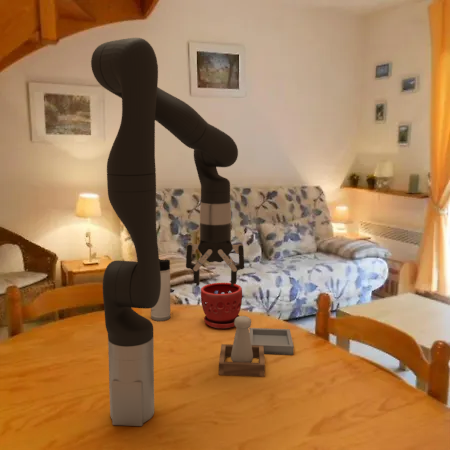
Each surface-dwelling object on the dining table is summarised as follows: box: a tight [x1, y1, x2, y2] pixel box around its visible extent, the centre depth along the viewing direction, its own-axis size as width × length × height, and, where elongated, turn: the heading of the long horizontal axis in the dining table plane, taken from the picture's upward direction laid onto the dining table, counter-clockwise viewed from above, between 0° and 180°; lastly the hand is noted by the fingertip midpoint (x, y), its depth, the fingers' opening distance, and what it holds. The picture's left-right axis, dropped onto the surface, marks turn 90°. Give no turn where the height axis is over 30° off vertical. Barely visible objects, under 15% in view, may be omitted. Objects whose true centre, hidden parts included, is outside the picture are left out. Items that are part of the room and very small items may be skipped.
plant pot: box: [200, 282, 243, 329], centre depth 150 cm, size 13×13×12 cm
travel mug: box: [150, 258, 171, 322], centre depth 153 cm, size 6×7×20 cm
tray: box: [248, 327, 294, 356], centre depth 136 cm, size 12×12×2 cm
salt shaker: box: [230, 315, 254, 363], centre depth 122 cm, size 6×6×13 cm
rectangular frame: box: [218, 343, 266, 377], centre depth 123 cm, size 11×11×3 cm
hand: (215, 284), depth 117 cm, fingers open, 8 cm apart
